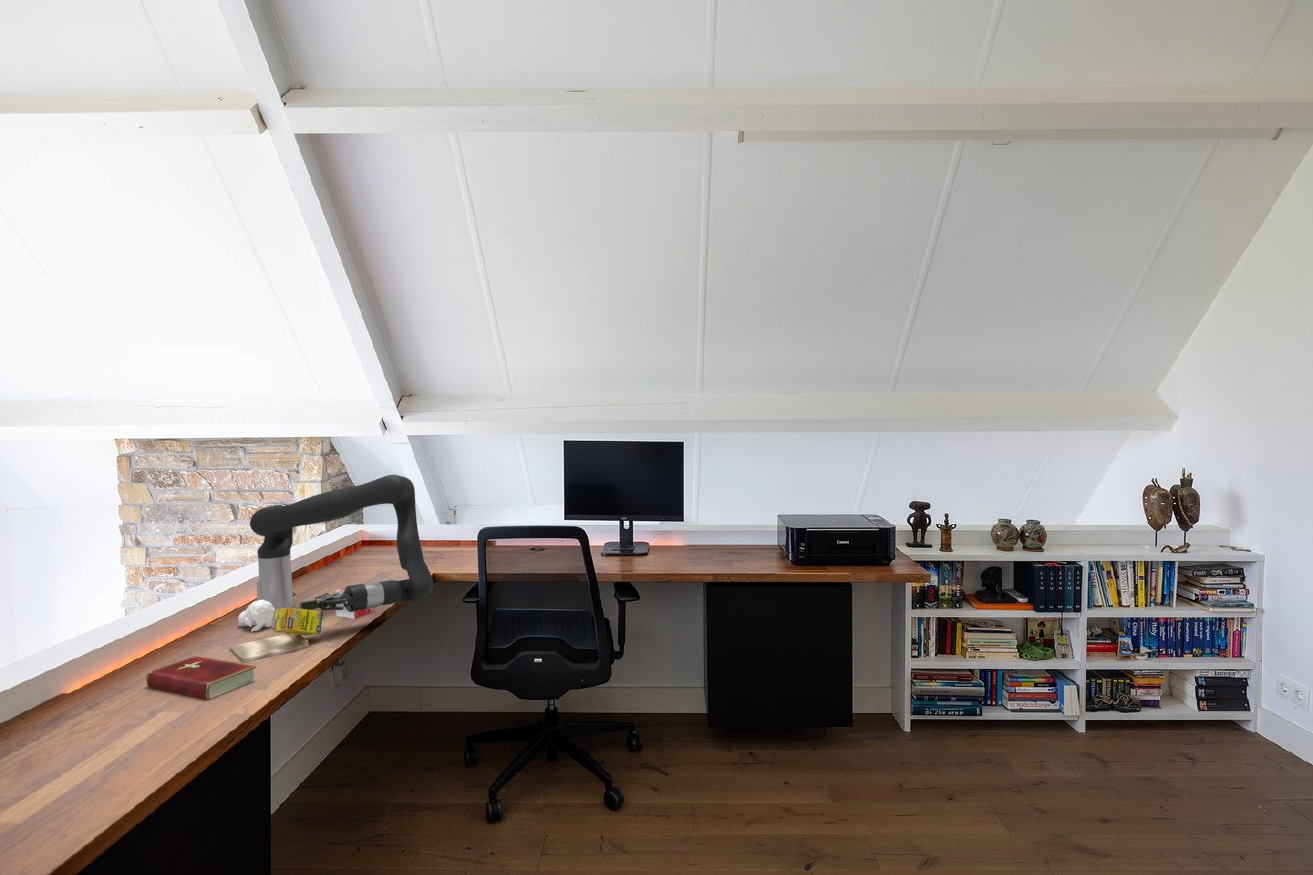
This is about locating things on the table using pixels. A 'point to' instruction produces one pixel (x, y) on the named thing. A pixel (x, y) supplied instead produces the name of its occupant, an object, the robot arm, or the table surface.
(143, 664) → the table surface
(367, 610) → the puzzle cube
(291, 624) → the supplement box
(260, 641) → the board
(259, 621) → the white figurine
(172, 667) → the hardcover book
